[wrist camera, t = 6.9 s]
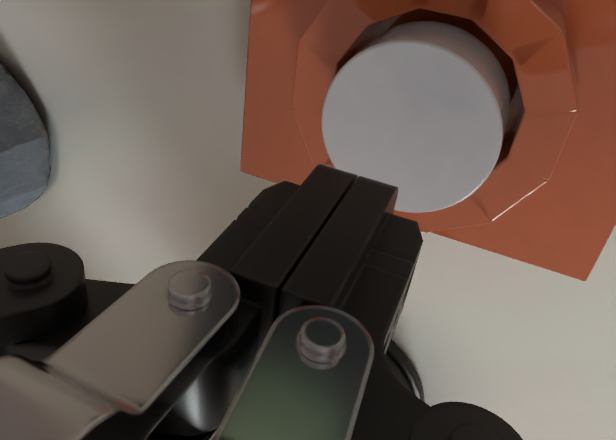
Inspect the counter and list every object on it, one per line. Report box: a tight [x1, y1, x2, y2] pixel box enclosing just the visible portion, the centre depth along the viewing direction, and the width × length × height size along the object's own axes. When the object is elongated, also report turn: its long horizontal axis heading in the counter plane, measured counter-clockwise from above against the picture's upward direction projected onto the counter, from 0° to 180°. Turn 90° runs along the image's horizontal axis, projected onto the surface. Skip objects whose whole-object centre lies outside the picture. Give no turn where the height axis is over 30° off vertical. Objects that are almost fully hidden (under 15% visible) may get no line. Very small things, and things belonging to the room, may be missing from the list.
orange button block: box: [240, 0, 616, 281], centre depth 17 cm, size 12×10×4 cm
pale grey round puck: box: [321, 21, 511, 213], centre depth 14 cm, size 4×4×2 cm
